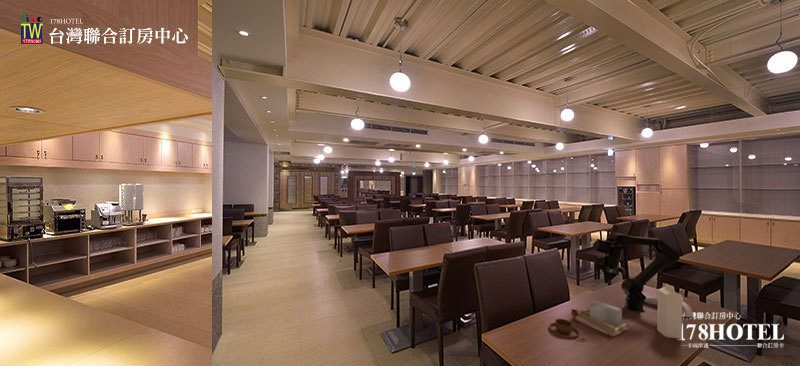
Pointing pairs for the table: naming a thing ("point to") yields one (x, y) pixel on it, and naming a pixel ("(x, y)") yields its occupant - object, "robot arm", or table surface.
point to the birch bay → (599, 324)
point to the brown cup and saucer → (566, 327)
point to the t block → (606, 313)
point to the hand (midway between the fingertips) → (605, 283)
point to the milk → (669, 312)
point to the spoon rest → (654, 300)
